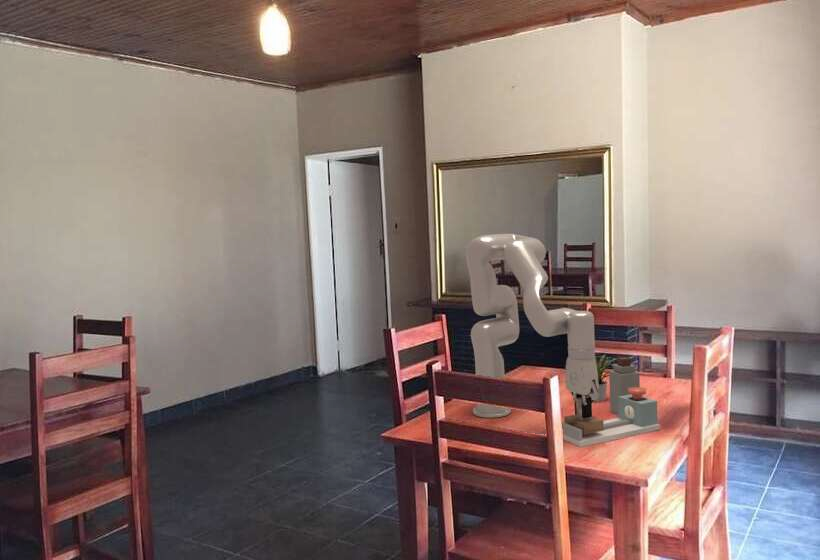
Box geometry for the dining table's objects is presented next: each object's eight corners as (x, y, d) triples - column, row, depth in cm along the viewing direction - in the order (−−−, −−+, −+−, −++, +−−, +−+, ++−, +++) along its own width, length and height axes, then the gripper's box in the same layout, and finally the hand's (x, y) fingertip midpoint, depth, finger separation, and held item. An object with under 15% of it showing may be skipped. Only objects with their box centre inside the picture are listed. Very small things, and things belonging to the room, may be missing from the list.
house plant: (617, 393, 244) (616, 348, 243) (625, 404, 231) (624, 356, 229) (576, 394, 246) (575, 350, 244) (582, 405, 232) (581, 358, 231)
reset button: (624, 398, 207) (624, 388, 207) (637, 395, 209) (637, 386, 209) (636, 402, 202) (636, 392, 202) (650, 399, 205) (649, 389, 204)
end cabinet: (617, 419, 210) (617, 396, 209) (633, 415, 212) (633, 393, 212) (640, 427, 201) (640, 404, 200) (657, 423, 203) (657, 400, 203)
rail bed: (555, 435, 202) (554, 420, 201) (631, 419, 213) (631, 405, 213) (581, 447, 191) (580, 431, 190) (660, 429, 202) (659, 414, 202)
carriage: (564, 426, 201) (563, 396, 200) (583, 422, 204) (582, 393, 203) (583, 434, 193) (583, 403, 192) (603, 430, 196) (602, 399, 195)
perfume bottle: (621, 416, 217) (620, 361, 215) (610, 411, 223) (608, 357, 222) (640, 414, 219) (639, 359, 217) (628, 408, 225) (626, 355, 224)
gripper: (554, 351, 202) (556, 411, 204) (588, 360, 188) (590, 425, 189) (574, 348, 205) (576, 407, 207) (610, 356, 191) (612, 420, 192)
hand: (583, 415), depth 198 cm, fingers closed on carriage, 2 cm apart
